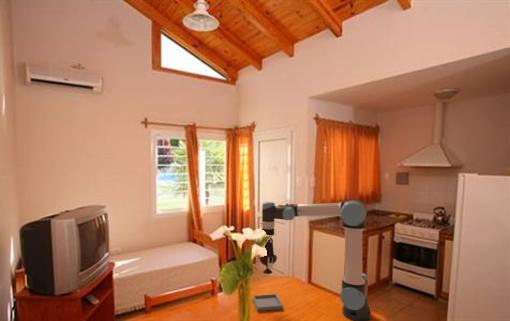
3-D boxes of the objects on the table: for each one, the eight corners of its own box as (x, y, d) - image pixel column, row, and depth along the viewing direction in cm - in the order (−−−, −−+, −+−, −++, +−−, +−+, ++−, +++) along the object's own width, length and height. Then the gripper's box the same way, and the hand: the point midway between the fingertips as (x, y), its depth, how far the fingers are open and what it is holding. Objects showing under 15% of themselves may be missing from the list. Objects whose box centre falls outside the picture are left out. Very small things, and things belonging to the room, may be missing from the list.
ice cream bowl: (275, 276, 158) (276, 250, 158) (256, 274, 160) (257, 248, 160) (277, 269, 168) (278, 245, 169) (260, 268, 170) (260, 244, 171)
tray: (282, 309, 157) (282, 305, 157) (257, 312, 154) (257, 307, 154) (276, 297, 172) (276, 293, 172) (252, 299, 169) (252, 295, 169)
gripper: (258, 224, 176) (257, 258, 175) (266, 232, 153) (266, 272, 152) (269, 224, 177) (269, 258, 176) (279, 232, 154) (279, 271, 153)
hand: (267, 264), depth 164 cm, fingers closed on ice cream bowl, 11 cm apart
